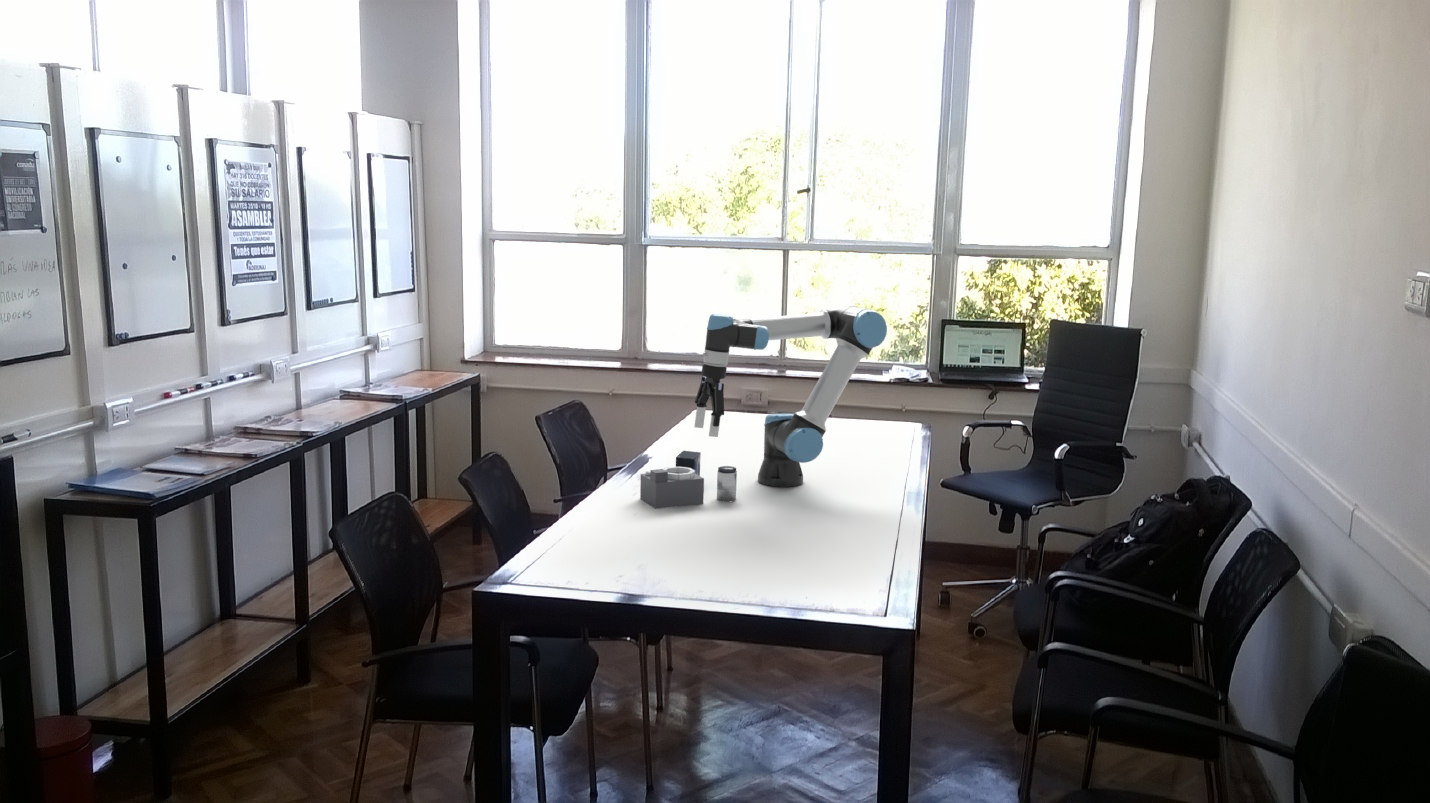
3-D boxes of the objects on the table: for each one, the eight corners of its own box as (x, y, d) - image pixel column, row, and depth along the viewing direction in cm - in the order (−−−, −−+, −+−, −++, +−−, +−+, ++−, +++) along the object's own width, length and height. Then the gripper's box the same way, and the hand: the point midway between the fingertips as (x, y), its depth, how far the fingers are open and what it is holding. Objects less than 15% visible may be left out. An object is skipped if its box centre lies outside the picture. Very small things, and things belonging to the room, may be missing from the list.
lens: (730, 495, 348) (731, 465, 346) (739, 500, 343) (740, 469, 341) (713, 497, 345) (714, 466, 343) (722, 502, 340) (723, 471, 338)
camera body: (686, 494, 349) (687, 460, 347) (703, 503, 338) (704, 468, 336) (640, 498, 342) (640, 464, 340) (655, 508, 331) (656, 473, 329)
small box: (693, 490, 354) (694, 458, 352) (674, 488, 355) (674, 457, 353) (700, 482, 364) (701, 451, 362) (681, 480, 365) (682, 450, 364)
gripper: (690, 357, 348) (682, 423, 351) (717, 369, 325) (707, 439, 328) (712, 359, 351) (703, 424, 354) (740, 371, 328) (731, 441, 331)
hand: (705, 432), depth 341 cm, fingers open, 13 cm apart
